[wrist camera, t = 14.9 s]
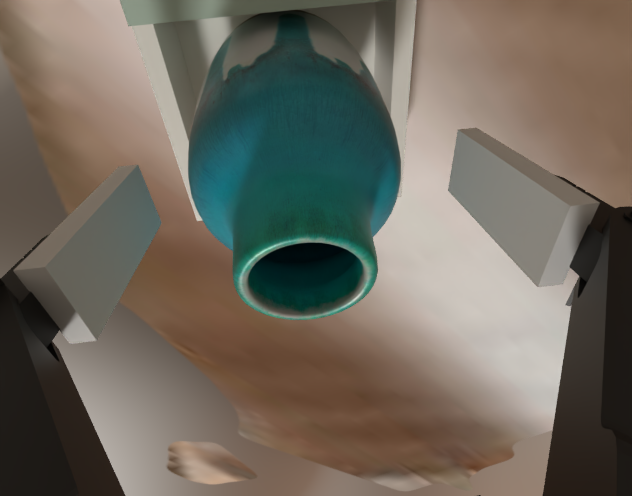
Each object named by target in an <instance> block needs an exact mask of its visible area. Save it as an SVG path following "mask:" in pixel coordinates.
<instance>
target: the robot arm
mask: <svg viewBox="0 0 632 496" xmlns="http://www.w3.org/2000/svg"><path fill="white" fill-rule="evenodd" d="M448 191H449V192H450V193H451V194H452V195H453V196H454V197H455V198H456V199H457V201H458V202H459V203H460V204H461V205H462V206H463V207H464V208H465V209H466V210H467V211H468V212H469V213H470V215H471V216H472V217H473V218H474V219H475V220H476V221H477V222H478V223H479V224H480V225H481V226H482V228H483V229H484V230H485V231H486V232H487V233H488V234H489V235H490V236H491V237H492V238H493V239H494V240H495V242H496V243H497V244H498V245H499V246H500V247H501V248H502V249H503V250H504V251H505V252H506V253H507V255H508V256H509V257H510V258H511V259H512V260H513V261H514V262H515V263H516V264H517V265H518V266H519V267H520V269H521V270H522V271H523V272H524V273H525V274H526V275H527V276H528V277H529V278H530V279H531V280H532V282H533V283H534V284H535V285H536V286H537V287H542V286H551V285H559V284H563V282H564V280H565V278H566V275H567V273H568V271H569V269H570V268H571V269H572V270H574V271H575V272H576V273H577V274H578V275H579V278H578V280H577V282H576V284H575V286H574V288H573V290H572V293H571V295H570V297H569V299H568V301H567V303H566V305H567V306H570V305H571V304H572V307H571V313H570V320H569V326H568V333H567V340H566V346H565V353H564V359H563V366H562V373H561V379H560V386H559V393H558V399H557V406H556V412H555V419H554V426H553V432H552V439H551V446H550V452H549V459H548V466H547V472H546V478H545V485H544V492H543V496H632V207H618V208H614V207H612V206H610V205H609V204H607V203H605V202H603V201H602V200H600V199H598V198H597V197H595V196H593V195H592V194H590V193H588V192H585V190H583V189H582V188H580V187H576V185H575V184H573V183H572V182H570V181H568V180H567V179H565V178H562V177H560V176H557V175H554V174H552V173H550V172H548V171H547V170H545V169H543V168H542V167H540V166H538V165H537V164H535V163H534V162H532V161H530V160H529V159H527V158H525V157H524V156H522V155H520V154H519V153H517V152H515V151H514V150H512V149H510V148H509V147H507V146H506V145H504V144H502V143H501V142H499V141H497V140H496V139H494V138H492V137H491V136H489V135H487V134H486V133H484V132H482V131H481V130H479V129H477V128H469V129H460V130H458V133H457V139H456V145H455V151H454V157H453V164H452V170H451V176H450V182H449V188H448ZM160 225H161V220H160V218H159V215H158V213H157V210H156V208H155V206H154V203H153V201H152V198H151V196H150V193H149V191H148V188H147V186H146V183H145V181H144V178H143V176H142V173H141V171H140V169H139V166H138V165H130V166H121V167H118V168H117V169H116V170H115V171H114V172H113V173H112V174H111V175H110V176H109V177H108V178H107V179H106V180H105V181H104V182H103V183H102V184H101V185H100V186H99V187H98V188H97V189H96V190H95V191H94V192H93V193H92V194H91V195H90V196H88V197H87V198H86V199H85V200H84V201H83V202H82V203H81V204H80V205H79V206H78V207H77V208H76V209H75V210H74V211H73V212H72V213H71V214H70V215H69V216H68V217H67V218H66V219H65V220H64V221H63V222H62V223H61V224H60V225H59V226H58V227H57V228H56V229H55V230H54V231H53V232H52V233H51V234H49V235H47V236H46V237H44V238H42V239H41V240H40V241H39V242H38V243H37V244H36V245H35V246H34V247H33V248H32V250H30V251H29V252H28V253H27V254H26V255H25V256H24V258H23V259H21V260H20V261H19V262H18V263H17V264H15V266H13V267H12V268H11V269H10V270H9V271H8V272H7V273H6V274H5V275H4V276H3V277H2V278H1V279H0V496H125V494H124V492H123V490H122V487H121V485H120V483H119V481H118V479H117V476H116V474H115V472H114V470H113V468H112V465H111V463H110V461H109V459H108V457H107V455H106V452H105V450H104V448H103V446H102V444H101V441H100V439H99V437H98V435H97V432H96V430H95V428H94V426H93V424H92V422H91V419H90V417H89V415H88V413H87V411H86V408H85V406H84V404H83V402H82V400H81V397H80V395H79V393H78V391H77V389H76V386H75V384H74V382H73V380H72V378H71V375H70V373H69V371H68V369H67V367H66V365H65V363H64V360H63V358H62V356H61V354H60V351H59V349H58V348H57V347H56V346H55V344H54V343H53V342H52V340H53V339H54V337H55V336H56V334H57V333H58V331H59V330H60V331H61V333H62V334H63V335H64V337H65V338H66V339H67V340H68V342H69V343H70V344H73V343H80V342H90V341H97V339H98V337H99V336H100V334H101V332H102V330H103V328H104V327H105V325H106V323H107V321H108V319H109V318H110V316H111V314H112V312H113V310H114V308H115V307H116V305H117V303H118V301H119V299H120V298H121V296H122V294H123V292H124V290H125V288H126V287H127V285H128V283H129V281H130V279H131V278H132V276H133V274H134V272H135V270H136V268H137V267H138V265H139V263H140V261H141V259H142V258H143V256H144V254H145V252H146V250H147V249H148V247H149V245H150V243H151V241H152V239H153V238H154V236H155V234H156V232H157V230H158V229H159V227H160ZM479 496H480V495H479Z"/></svg>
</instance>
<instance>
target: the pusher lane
mask: <svg viewBox="0 0 632 496" xmlns="http://www.w3.org/2000/svg"><path fill="white" fill-rule="evenodd" d="M416 3H417V0H389V1H379V2H369V3H359V4H349V5H339V6H329V7H319V8H308V9H298V10H302V11H305V12H308V13H311V14H315V15H316V16H318V17H320V18H322V19H324V20H326V21H327V22H329V23H330V24H331V25H332V26H334V27H335V28H336V29H337V30H339V31H340V32H341V33H342V34H343V35H344V36H345V38H346V39H347V40H348V41H349V42H350V43H351V44H352V45H353V47H354V48H355V49H356V50H357V52H358V53H359V55H360V56H361V58H362V59H363V61H364V63H365V64H366V66H367V67H368V69H369V71H370V72H371V74H372V76H373V78H374V80H375V82H376V84H377V86H378V88H379V90H380V92H381V94H382V97H383V99H384V101H385V104H386V106H387V109H388V111H389V114H390V116H391V119H392V122H393V125H394V128H395V132H396V136H397V141H398V146H399V151H400V157H401V182H400V187H399V192H398V196H397V197H401V194H402V181H403V168H404V156H405V143H406V130H407V117H408V105H409V92H410V79H411V66H412V54H413V41H414V28H415V15H416ZM258 14H259V13H258ZM255 15H257V14H248V15H238V16H228V17H218V18H208V19H198V20H187V21H177V22H167V23H157V24H147V25H137V26H132V29H133V32H134V35H135V38H136V41H137V44H138V47H139V50H140V53H141V56H142V59H143V62H144V65H145V68H146V71H147V74H148V77H149V80H150V83H151V86H152V89H153V92H154V95H155V98H156V101H157V104H158V107H159V109H160V112H161V115H162V118H163V121H164V124H165V127H166V130H167V133H168V136H169V139H170V142H171V145H172V148H173V151H174V154H175V157H176V160H177V163H178V166H179V169H180V172H181V175H182V178H183V181H184V184H185V187H186V190H187V193H188V196H189V199H190V201H191V204H192V207H193V210H194V213H195V216H196V219H197V221H201V220H202V218H201V217H200V215H199V213H198V211H197V209H196V207H195V204H194V201H193V199H192V195H191V190H190V185H189V179H188V151H189V139H190V132H191V127H192V122H193V118H194V113H195V109H196V105H197V101H198V97H199V93H200V90H201V87H202V84H203V81H204V79H205V76H206V74H207V72H208V69H209V67H210V65H211V62H212V60H213V58H214V56H215V55H216V53H217V51H218V50H219V48H220V47H221V45H222V44H223V42H224V41H225V39H226V38H227V37H228V36H229V35H230V34H231V33H232V32H233V31H234V30H235V29H236V27H237V26H239V25H240V24H242V23H243V22H244V21H246V20H247V19H248V18H251V17H253V16H255Z"/></svg>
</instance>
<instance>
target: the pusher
mask: <svg viewBox="0 0 632 496" xmlns="http://www.w3.org/2000/svg"><path fill="white" fill-rule="evenodd" d="M379 1H389V0H120V2H121V5H122V8H123V11H124V14H125V17H126V20H127V23H128V26H137V25H147V24H157V23H167V22H177V21H187V20H198V19H208V18H218V17H228V16H238V15H248V14H258V13H268V12H278V11H288V10H298V9H308V8H319V7H329V6H339V5H349V4H359V3H369V2H379Z"/></svg>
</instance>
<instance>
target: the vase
mask: <svg viewBox="0 0 632 496" xmlns="http://www.w3.org/2000/svg"><path fill="white" fill-rule="evenodd" d="M188 179H189V185H190V190H191V195H192V199H193V201H194V204H195V207H196V209H197V211H198V213H199V215H200V217H201V218H202V220H203V222H204V223H205V225H206V227H207V228H208V229H209V231H210V232H211V233H212V234H213V235H214V236H215V237H216V238H217V239H218V240H219V241H220V242H221V243H223V244H224V245H225V246H226V247H228V248H229V249H231V250H232V251H233V280H234V285H235V288H236V291H237V292H238V294H239V296H240V297H241V299H242V300H243V301H244V302H245V303H246V304H247V305H249V306H250V307H252V308H253V309H255V310H257V311H259V312H261V313H263V314H266V315H269V316H273V317H277V318H282V319H290V320H307V319H316V318H322V317H326V316H330V315H333V314H336V313H339V312H341V311H343V310H345V309H347V308H350V307H351V306H353V305H354V304H356V303H358V302H359V301H360V300H361V299H363V298H364V297H365V296H366V295H367V294H368V293H369V291H370V290H371V288H372V287H373V285H374V283H375V280H376V277H377V272H378V265H377V256H376V251H375V246H374V242H373V236H374V235H375V234H376V233H377V232H378V231H379V230H380V229H381V227H382V226H383V225H384V224H385V222H386V221H387V219H388V217H389V216H390V214H391V212H392V210H393V207H394V205H395V202H396V199H397V196H398V192H399V187H400V182H401V157H400V151H399V146H398V141H397V136H396V132H395V128H394V125H393V122H392V119H391V116H390V114H389V111H388V109H387V106H386V104H385V101H384V99H383V97H382V94H381V92H380V90H379V88H378V86H377V84H376V82H375V80H374V78H373V76H372V74H371V72H370V71H369V69H368V67H367V66H366V64H365V63H364V61H363V59H362V58H361V56H360V55H359V53H358V52H357V50H356V49H355V48H354V47H353V45H352V44H351V43H350V42H349V41H348V40H347V39H346V38H345V36H344V35H343V34H342V33H341V32H340V31H339V30H337V29H336V28H335V27H334V26H332V25H331V24H330V23H329V22H327V21H326V20H324V19H322V18H320V17H318V16H316V15H315V14H311V13H308V12H305V11H302V10H288V11H278V12H268V13H259V14H257V15H255V16H253V17H251V18H248V19H247V20H246V21H244V22H243V23H242V24H240V25H239V26H237V27H236V29H235V30H234V31H233V32H232V33H231V34H230V35H229V36H228V37H227V38H226V39H225V41H224V42H223V44H222V45H221V47H220V48H219V50H218V51H217V53H216V55H215V56H214V58H213V60H212V62H211V65H210V67H209V69H208V72H207V74H206V76H205V79H204V81H203V84H202V87H201V90H200V93H199V97H198V101H197V105H196V109H195V113H194V118H193V122H192V127H191V132H190V139H189V151H188Z"/></svg>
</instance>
